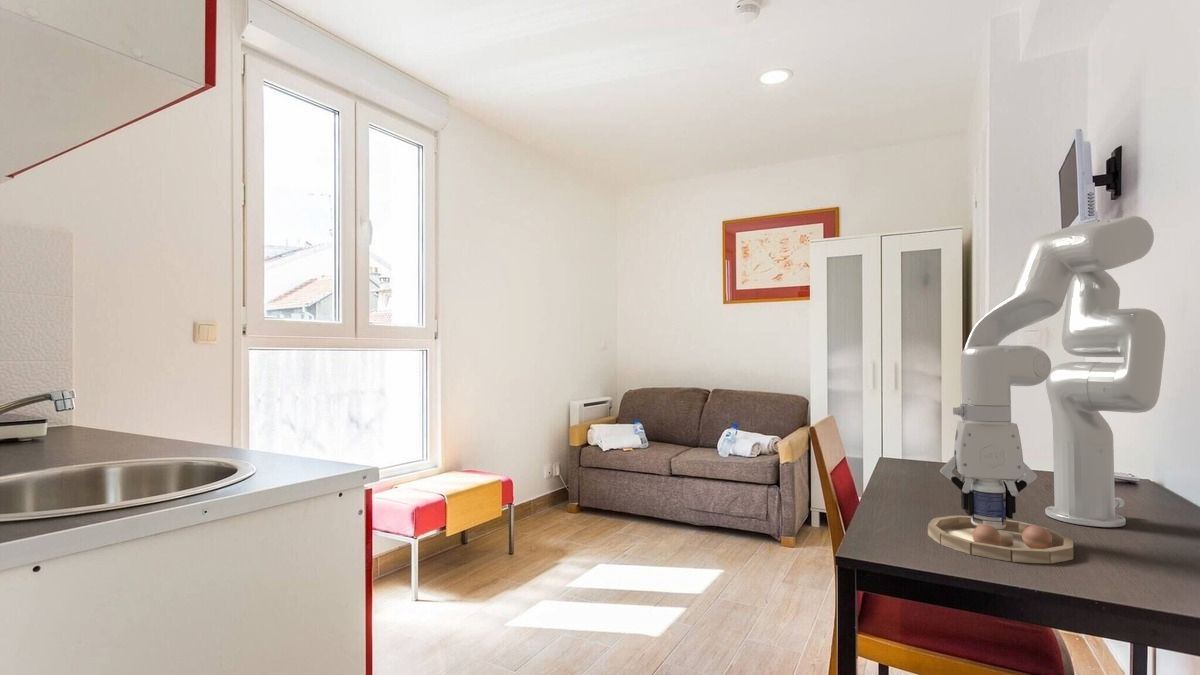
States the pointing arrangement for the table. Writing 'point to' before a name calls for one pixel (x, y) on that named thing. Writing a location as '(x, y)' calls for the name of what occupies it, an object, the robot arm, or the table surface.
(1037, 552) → the groove tray
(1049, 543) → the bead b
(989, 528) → the brown egg
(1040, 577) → the table surface
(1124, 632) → the table surface
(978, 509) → the pill bottle
